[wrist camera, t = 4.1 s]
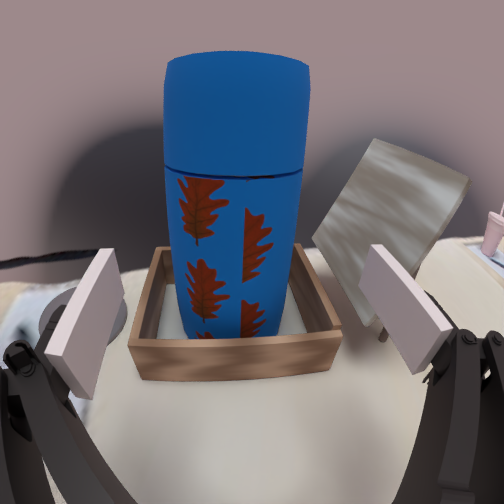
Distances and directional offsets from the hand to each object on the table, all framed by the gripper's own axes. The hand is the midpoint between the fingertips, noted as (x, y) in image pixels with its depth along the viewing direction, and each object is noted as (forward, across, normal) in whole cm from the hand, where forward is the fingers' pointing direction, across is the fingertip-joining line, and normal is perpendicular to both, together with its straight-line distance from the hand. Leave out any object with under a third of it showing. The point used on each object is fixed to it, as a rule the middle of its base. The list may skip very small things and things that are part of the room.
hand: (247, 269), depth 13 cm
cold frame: (+11, +4, -14) cm, 18 cm away
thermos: (+10, 0, -14) cm, 18 cm away
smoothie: (+23, +61, -14) cm, 66 cm away
